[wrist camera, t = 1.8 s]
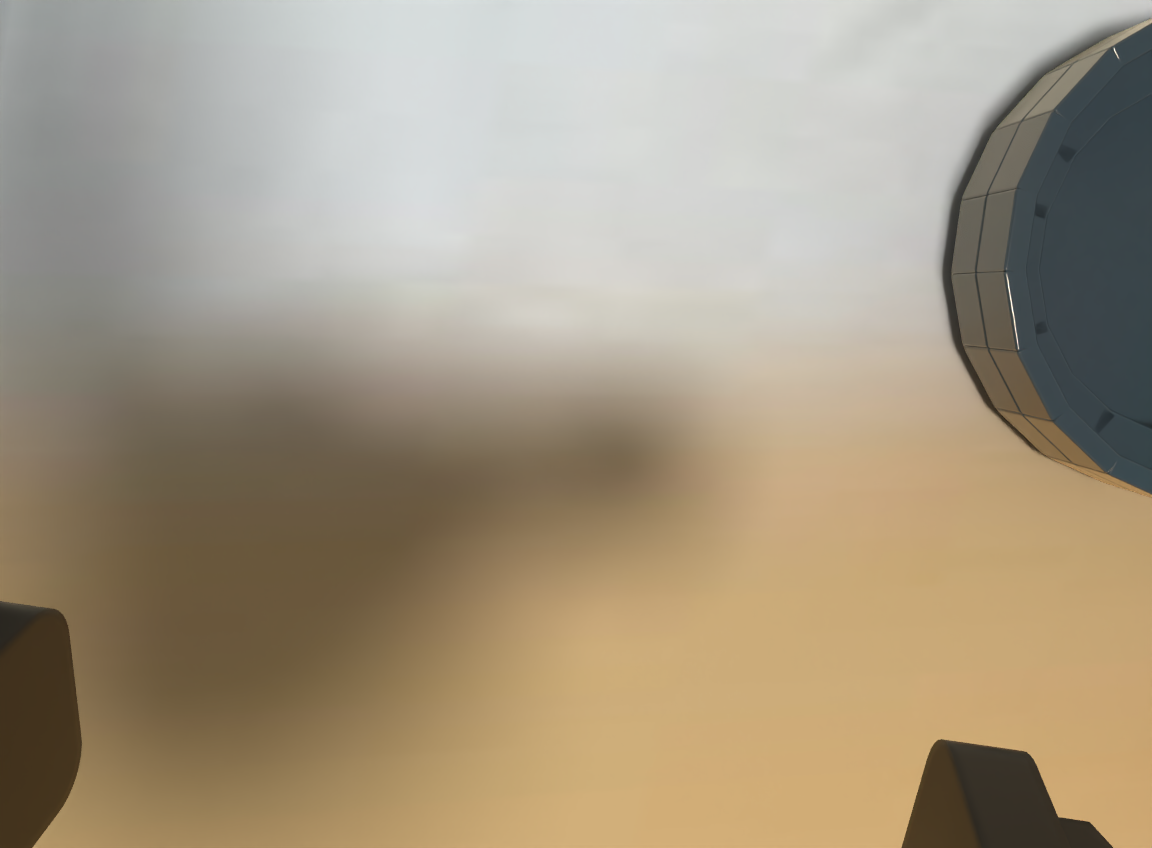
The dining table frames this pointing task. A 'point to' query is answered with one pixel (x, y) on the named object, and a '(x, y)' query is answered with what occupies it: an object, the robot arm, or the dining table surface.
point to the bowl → (1068, 263)
